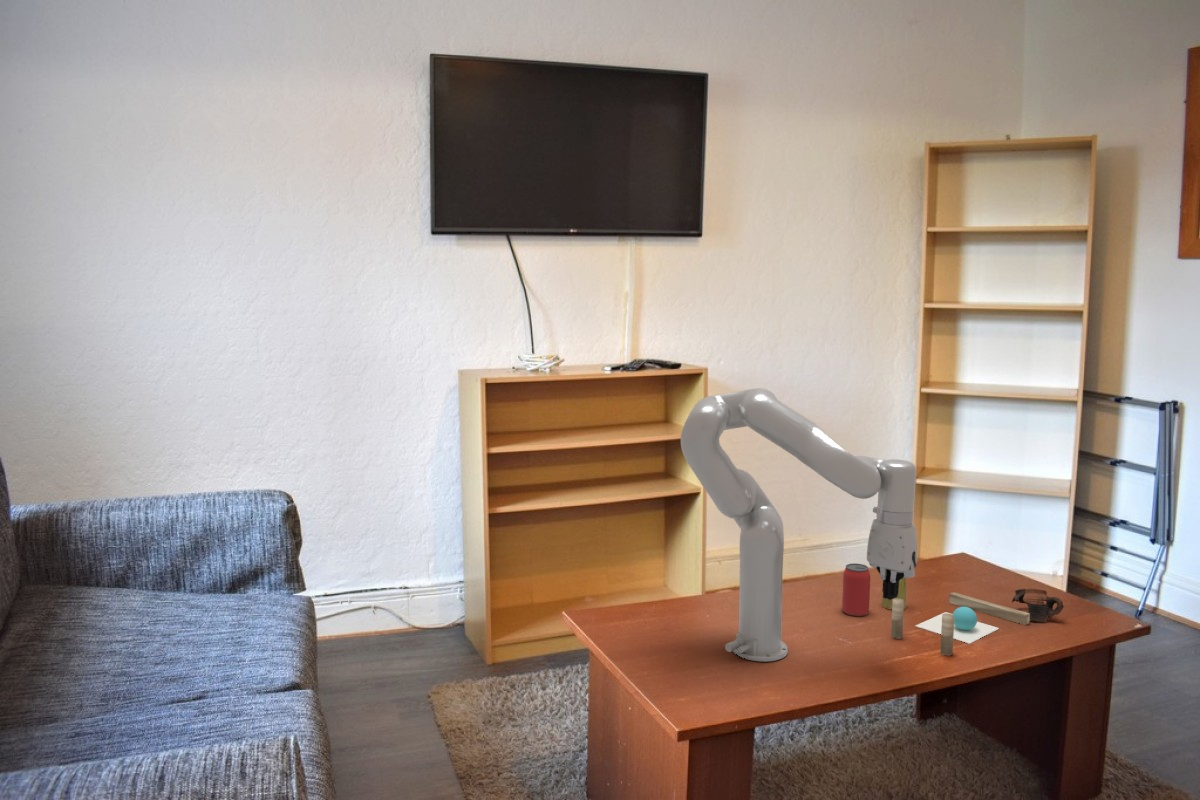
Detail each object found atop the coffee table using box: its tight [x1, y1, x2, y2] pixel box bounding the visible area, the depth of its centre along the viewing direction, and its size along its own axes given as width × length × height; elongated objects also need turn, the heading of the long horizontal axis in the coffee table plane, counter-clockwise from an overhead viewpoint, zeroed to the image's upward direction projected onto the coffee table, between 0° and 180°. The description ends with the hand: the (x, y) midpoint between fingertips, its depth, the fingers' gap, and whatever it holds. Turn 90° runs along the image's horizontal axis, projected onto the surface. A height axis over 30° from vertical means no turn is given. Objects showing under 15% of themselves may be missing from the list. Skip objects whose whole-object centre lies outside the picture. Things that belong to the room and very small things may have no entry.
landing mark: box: [914, 611, 1000, 645], centre depth 223 cm, size 14×14×1 cm
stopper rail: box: [948, 591, 1030, 626], centre depth 232 cm, size 2×20×2 cm, turn 40°
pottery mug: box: [1011, 588, 1065, 624], centre depth 230 cm, size 12×10×8 cm
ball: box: [952, 606, 978, 631], centre depth 221 cm, size 6×6×6 cm
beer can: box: [841, 562, 871, 617], centre depth 233 cm, size 7×7×12 cm
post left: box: [890, 598, 905, 640], centre depth 217 cm, size 3×3×9 cm
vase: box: [881, 578, 907, 610], centre depth 236 cm, size 6×6×14 cm
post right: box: [939, 612, 955, 657], centre depth 207 cm, size 3×3×9 cm
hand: (890, 597), depth 203 cm, fingers closed
